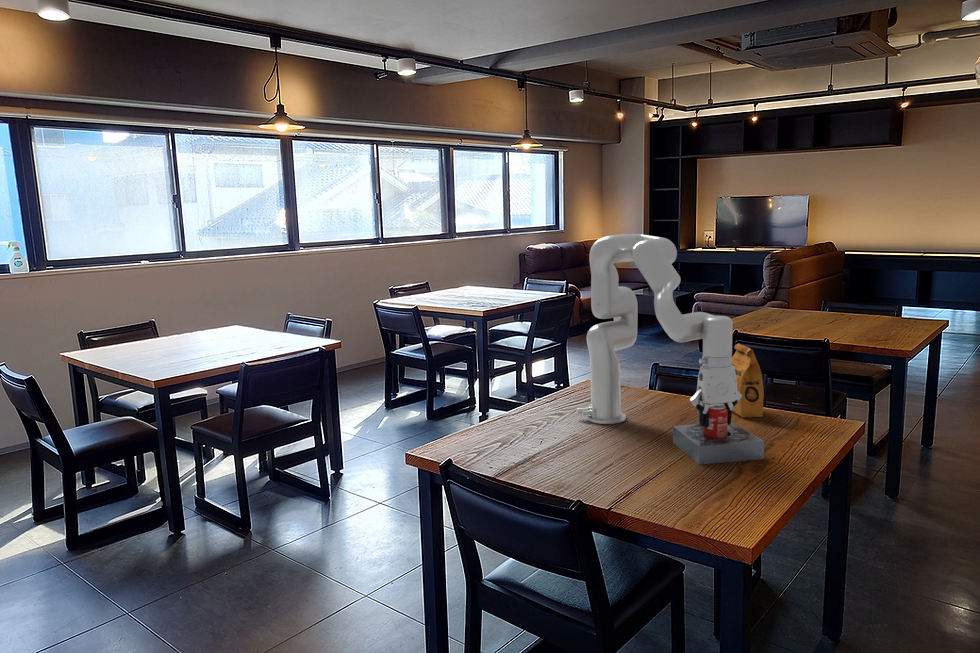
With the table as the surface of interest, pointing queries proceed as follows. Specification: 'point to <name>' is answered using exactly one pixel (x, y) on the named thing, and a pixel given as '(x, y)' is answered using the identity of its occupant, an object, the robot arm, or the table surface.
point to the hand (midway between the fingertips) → (715, 424)
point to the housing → (718, 444)
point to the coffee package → (748, 383)
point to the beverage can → (717, 421)
